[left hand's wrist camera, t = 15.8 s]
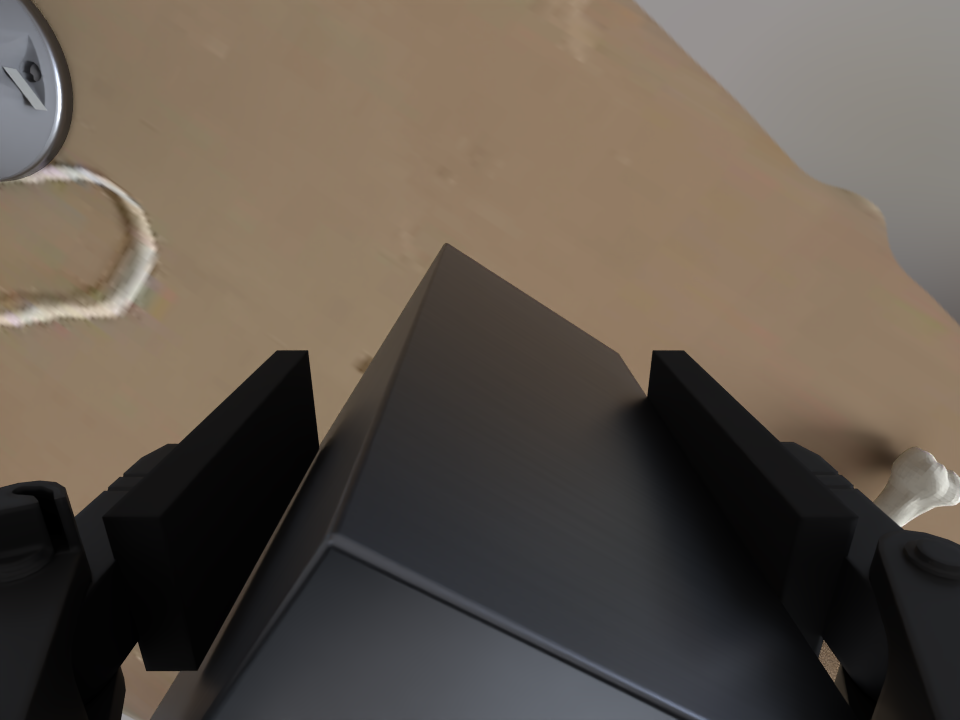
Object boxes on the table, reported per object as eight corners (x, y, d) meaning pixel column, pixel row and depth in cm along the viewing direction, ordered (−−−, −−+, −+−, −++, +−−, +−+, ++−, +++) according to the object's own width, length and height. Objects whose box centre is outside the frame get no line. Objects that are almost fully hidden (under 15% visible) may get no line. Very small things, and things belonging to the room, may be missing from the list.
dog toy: (797, 604, 58) (825, 643, 53) (753, 580, 57) (778, 618, 52) (945, 463, 52) (991, 493, 47) (900, 433, 51) (942, 461, 46)
